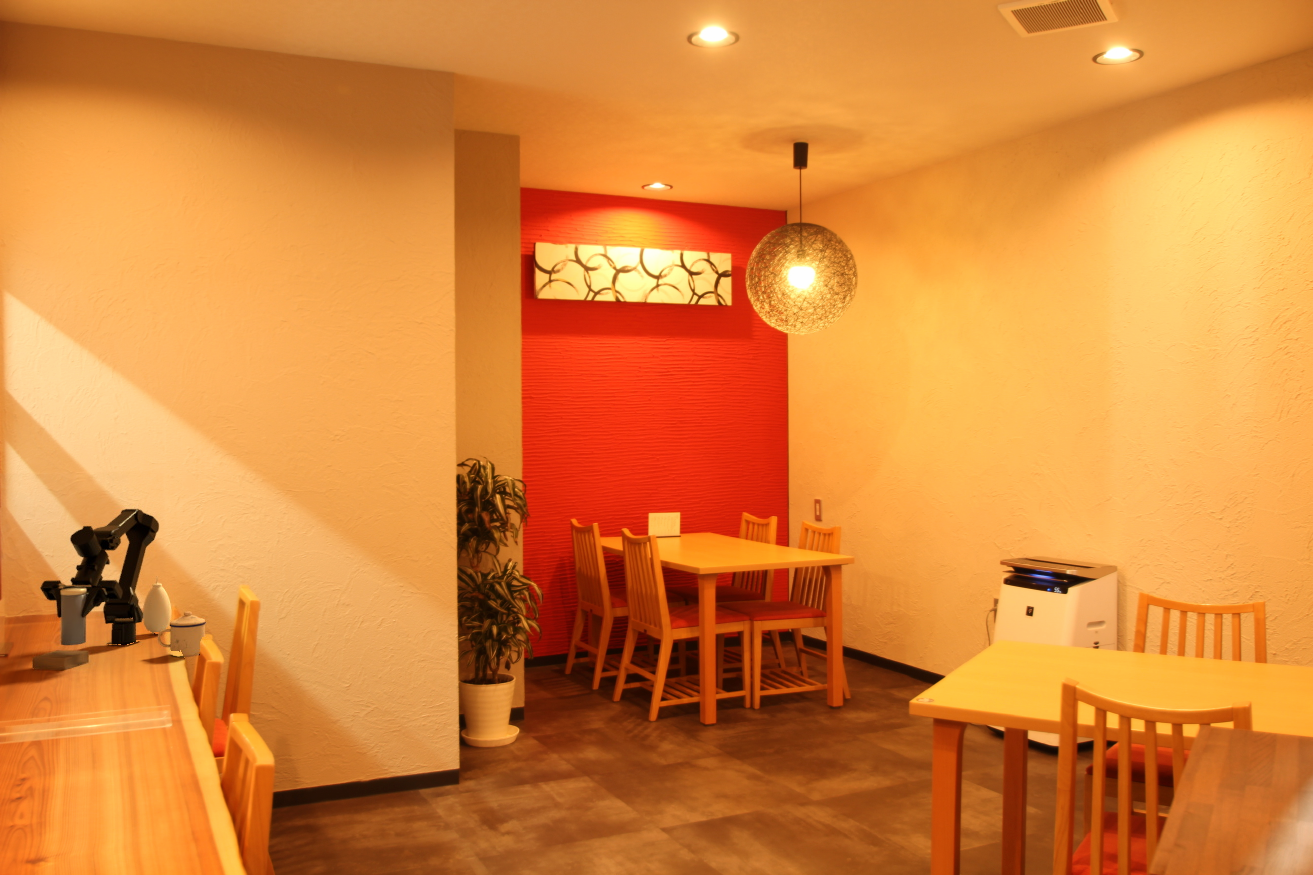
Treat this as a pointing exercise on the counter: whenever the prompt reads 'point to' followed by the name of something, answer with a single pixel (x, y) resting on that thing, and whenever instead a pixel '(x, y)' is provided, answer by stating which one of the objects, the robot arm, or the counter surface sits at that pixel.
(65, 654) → the stand
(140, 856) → the counter surface
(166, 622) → the sauce bottle
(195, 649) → the teacup with lid
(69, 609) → the canister
